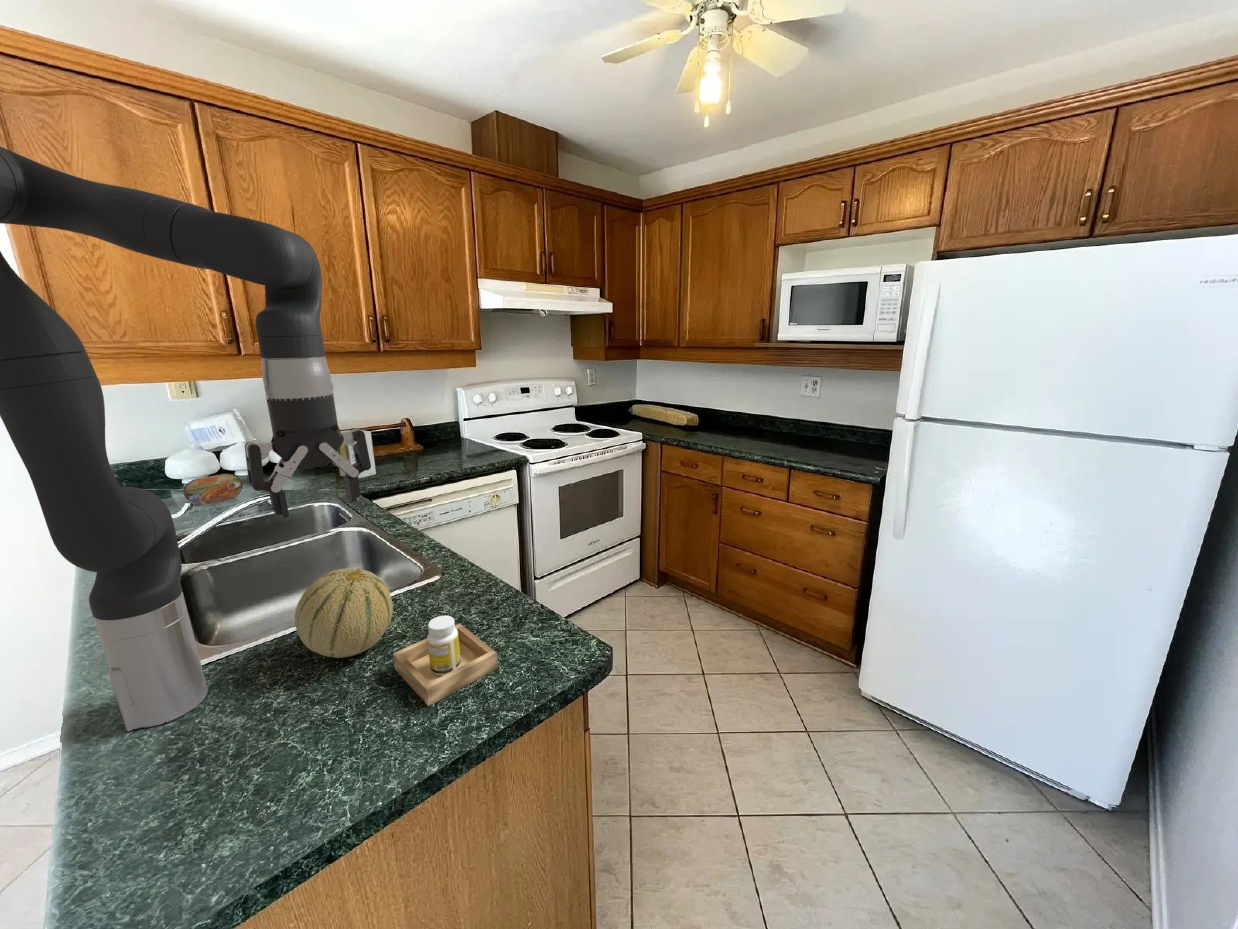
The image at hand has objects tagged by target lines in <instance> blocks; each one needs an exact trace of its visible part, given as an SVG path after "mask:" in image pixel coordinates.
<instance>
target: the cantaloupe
mask: <svg viewBox="0 0 1238 929" xmlns="http://www.w3.org/2000/svg"><path fill="white" fill-rule="evenodd" d="M391 596H392V595H391V591H390V588H389V587H388V585H387V583H385V581H384V580H383V579H381V577H379V576H378V575H376V574H375V573H373V572H371V571H368V570H365V569H362V567H357V568H355V567H354V568H353V567H347V568H345V567H344V568H340V569H334V570H331V571H329V572H327V573H325V574H323V575H321V576H319V578H317V579H316V580H315V581H314V582H313V583H312V584H310V585H309V587H308V588H307V589H306V590H305V591H303V593H302V595H301V597H300V599H299V600H298V602H297V605H296V608H295V612H294V625H295V626H294V627H295V629H296V632H297V634H298V637H299V638H300V640H301V642H302V643H303V645H304V646H305V647H306V648H308V649H309V650H310V651H311V652H315V653H317V654H318V655H321V656H324V657H329V658H335V659H340V658H341V659H342V658H349V657H353V656H356V655H359V654H361V653H363V652H365V651H366V650H368V649H370V648H373V647H374V646H375V645H376V644H377V642H378V641H379V640H380V639H381V637H382V636H383V635H384V634H385V632H386V631H387V629H388V627H389V625H390V623H391V621H392V618H393V617H392V616H393V611H394V610H393V609H394V606H393V601H392V600H393V599H392V597H391Z"/></svg>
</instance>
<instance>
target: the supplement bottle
mask: <svg viewBox="0 0 1238 929" xmlns="http://www.w3.org/2000/svg"><path fill="white" fill-rule="evenodd" d="M427 626H428V627H427V628H428V630H427V631H428V634H427V637H426V638H427V642H428V651H429V659H430V667H431V671H432V673H434V674H436V675H439V676H444V675H446V674H448V673H450V672H452V671H454V670H455V669H457V668H459V667H460V665H461V659H460V648H459V638H458V631H457V629H456V628H455V626H456V624H455V619H454V617H452V616H451V615H438V616H436V617H434V618H432V619H430V621H429V622H428V624H427Z"/></svg>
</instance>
